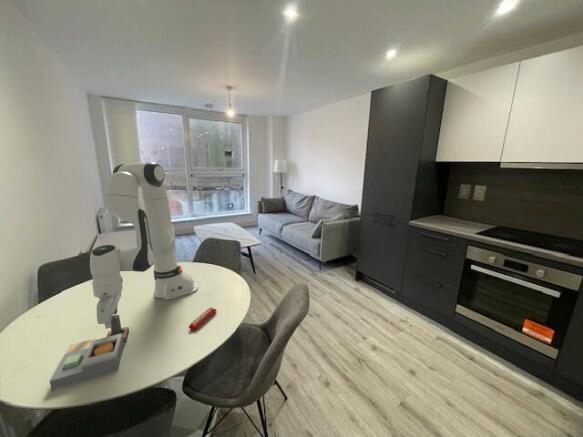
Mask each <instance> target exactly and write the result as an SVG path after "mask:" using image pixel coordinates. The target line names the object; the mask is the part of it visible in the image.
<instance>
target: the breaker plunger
mask: <svg viewBox="0 0 583 437" xmlns="http://www.w3.org/2000/svg"><path fill="white" fill-rule="evenodd" d="M112 351H114V348H113V344H112V343H106V344H103V345H100V346H99V347H97V348H96V349H95V351H94V354H95V356H98V355H101V354H105V353H109V352H112Z"/></svg>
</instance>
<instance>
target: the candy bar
mask: <svg viewBox="0 0 583 437" xmlns="http://www.w3.org/2000/svg"><path fill="white" fill-rule="evenodd" d="M216 312H217V309H216V308H213V307H209V308H207V309H206V310H205V311H203V313H201V315H199V316H197V317H196V318H195V319H194V320H193V321H192V322H191V323H189V326H188V329H190V330H191V331H192V332H196V331H197V330H198V329H199V328H201V326H203V325H204V324H205V323H206V322H207V321H208V320H210V319H211V318H212V317H213V316H214V315H215V314H216Z"/></svg>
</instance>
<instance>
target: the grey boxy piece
mask: <svg viewBox="0 0 583 437" xmlns="http://www.w3.org/2000/svg"><path fill="white" fill-rule="evenodd" d="M106 343H112V344H113V348H114V351H112V352H109V353H105V354H101V355H98V356H95V354H94V351H95V349H96V348H97V347H99V346H100V345H103V344H106ZM124 349H125V343H124V342H123V335H122V333H121V334H117V335H113V336H109V337H102V338H98V339H97V338H96V340H93V341H92V342H91V345H90V347H89V348H87V349H83V350H79V351H75V352H71V353H67V354H65V353H64V355H63V356H62V358H61V360H60V362H59V363H58V365H57V367H56V368H55V370H54V373H53V374H52V376H51V378H50V379H49V386H50V389H51V391H54V390H57V389H60V388H64V387H67V386H71V385H74V384H77V383H79V382H80V383H81V382H84V381H86V380H91V379H93V378H97V377H100V376H103V375H106V374H110V373H114V372H117V371H119V370H120V366H121V365H120V364H121V362H122V357H123V352H124ZM77 354H82V361H81V363H80V365H77V366H74V367H70V368H67V369H64V363H65V361H66V359H67V357H70V356H73V355H77Z"/></svg>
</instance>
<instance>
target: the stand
mask: <svg viewBox="0 0 583 437" xmlns="http://www.w3.org/2000/svg"><path fill="white" fill-rule="evenodd" d="M121 330H122V335H123V342H124V344H125V343H127V342H128V337H129V334H130V329H129V326H124V327H121ZM109 336H112V332H111V330H108V331H107V335H106V337H109Z"/></svg>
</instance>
